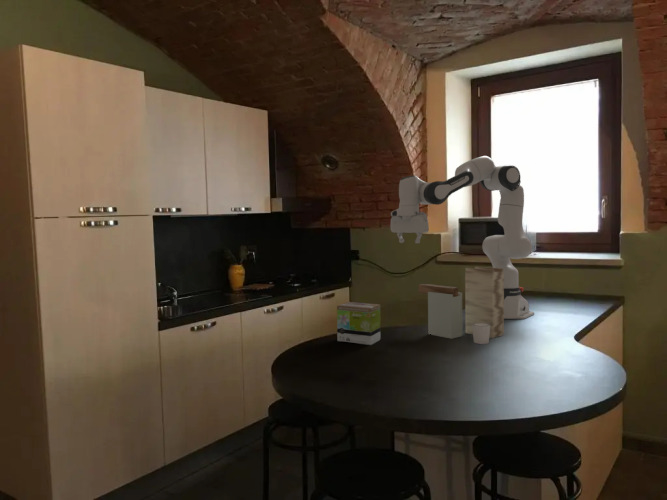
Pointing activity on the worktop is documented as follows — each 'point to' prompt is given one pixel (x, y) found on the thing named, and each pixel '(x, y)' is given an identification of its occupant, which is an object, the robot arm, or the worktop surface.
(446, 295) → the block
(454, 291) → the walnut bar
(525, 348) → the worktop surface
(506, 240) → the robot arm
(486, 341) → the grey brown short cylinder
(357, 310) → the tea box
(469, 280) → the shelf block
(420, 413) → the worktop surface
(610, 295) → the worktop surface
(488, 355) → the worktop surface
